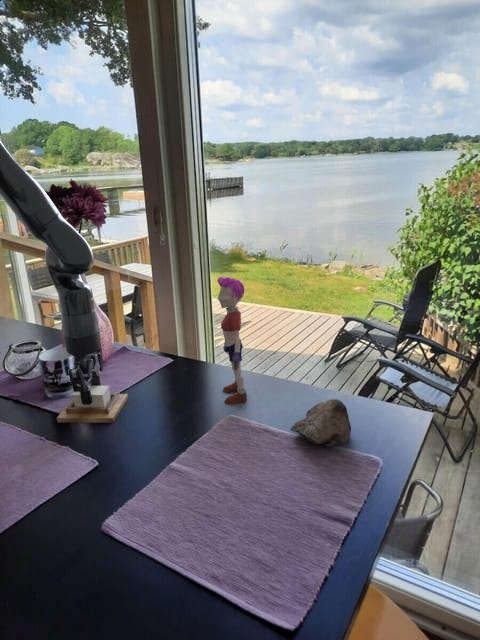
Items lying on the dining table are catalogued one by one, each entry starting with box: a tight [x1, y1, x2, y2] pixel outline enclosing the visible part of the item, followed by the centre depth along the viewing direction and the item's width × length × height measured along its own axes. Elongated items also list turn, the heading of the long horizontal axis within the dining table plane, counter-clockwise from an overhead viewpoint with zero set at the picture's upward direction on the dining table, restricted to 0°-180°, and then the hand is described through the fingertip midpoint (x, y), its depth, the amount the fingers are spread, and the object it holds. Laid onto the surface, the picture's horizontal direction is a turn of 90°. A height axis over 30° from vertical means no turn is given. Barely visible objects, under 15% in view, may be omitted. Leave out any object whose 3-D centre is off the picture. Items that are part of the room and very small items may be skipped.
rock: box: [290, 398, 352, 448], centre depth 90 cm, size 13×12×10 cm
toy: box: [217, 276, 248, 405], centre depth 104 cm, size 16×6×30 cm, turn 6°
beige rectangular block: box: [72, 385, 111, 408], centre depth 103 cm, size 7×4×4 cm, turn 87°
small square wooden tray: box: [56, 392, 129, 424], centre depth 104 cm, size 13×11×2 cm
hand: (92, 397), depth 103 cm, fingers open, 5 cm apart
